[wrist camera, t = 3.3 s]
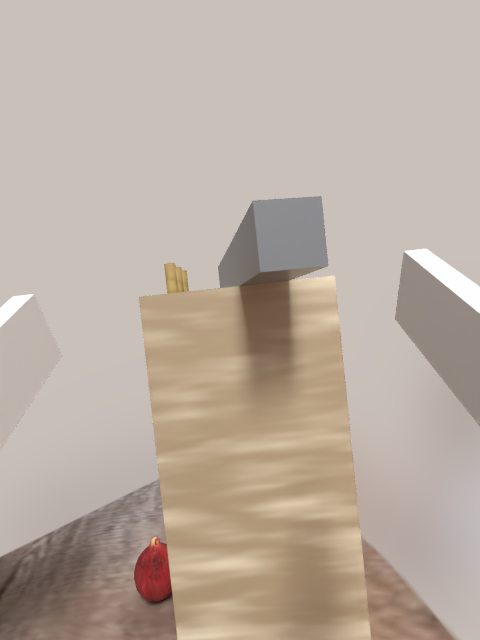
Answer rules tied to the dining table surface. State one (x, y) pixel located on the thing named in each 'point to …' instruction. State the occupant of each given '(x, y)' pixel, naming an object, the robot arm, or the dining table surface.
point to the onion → (153, 572)
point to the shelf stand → (255, 460)
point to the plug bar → (276, 243)
